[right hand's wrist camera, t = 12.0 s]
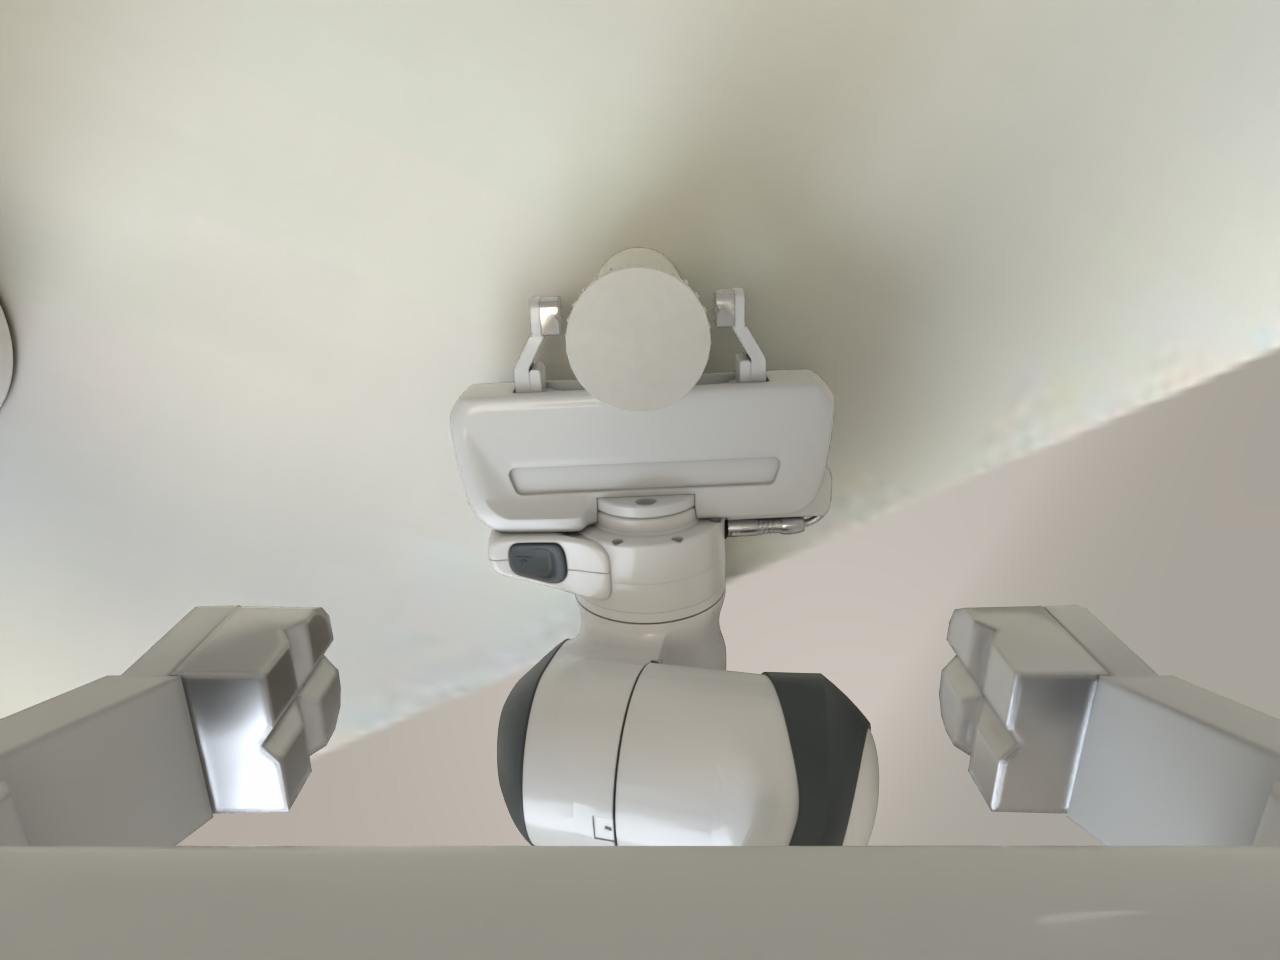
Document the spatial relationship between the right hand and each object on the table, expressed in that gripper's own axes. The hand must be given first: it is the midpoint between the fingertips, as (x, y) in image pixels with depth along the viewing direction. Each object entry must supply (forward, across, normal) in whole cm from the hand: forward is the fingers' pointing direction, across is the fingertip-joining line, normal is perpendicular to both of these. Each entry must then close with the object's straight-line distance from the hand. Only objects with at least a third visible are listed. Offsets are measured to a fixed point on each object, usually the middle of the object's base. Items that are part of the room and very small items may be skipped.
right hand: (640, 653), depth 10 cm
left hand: (+33, 0, -1) cm, 33 cm away
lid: (+22, 0, 0) cm, 23 cm away
